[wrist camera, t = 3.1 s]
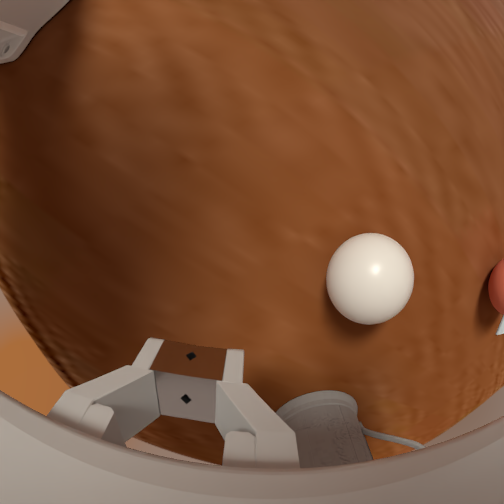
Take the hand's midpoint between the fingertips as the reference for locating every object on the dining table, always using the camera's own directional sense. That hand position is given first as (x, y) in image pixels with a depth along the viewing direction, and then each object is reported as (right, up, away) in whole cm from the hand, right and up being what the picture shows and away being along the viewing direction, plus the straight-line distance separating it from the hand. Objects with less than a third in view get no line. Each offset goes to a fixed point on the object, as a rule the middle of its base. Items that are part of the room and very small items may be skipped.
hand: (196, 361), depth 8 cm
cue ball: (+9, +2, +8) cm, 12 cm away
